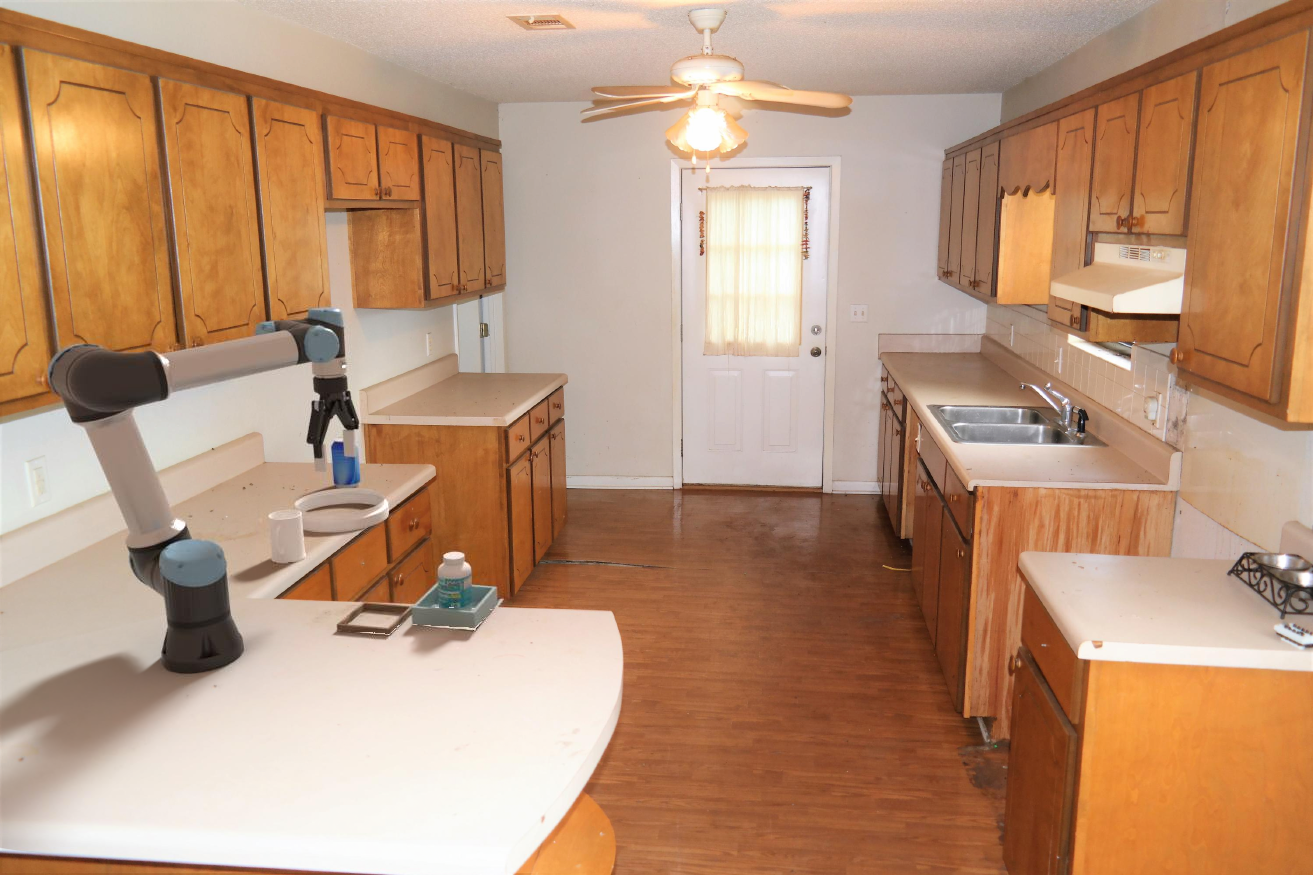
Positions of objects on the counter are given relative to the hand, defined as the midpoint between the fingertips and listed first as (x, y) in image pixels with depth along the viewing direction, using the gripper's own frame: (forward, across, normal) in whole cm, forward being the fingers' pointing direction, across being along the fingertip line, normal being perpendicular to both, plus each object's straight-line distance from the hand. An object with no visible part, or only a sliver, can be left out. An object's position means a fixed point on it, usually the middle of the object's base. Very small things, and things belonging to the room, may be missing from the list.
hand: (336, 463), depth 219 cm
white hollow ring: (+31, +47, +26) cm, 62 cm away
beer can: (+31, +77, +40) cm, 92 cm away
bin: (+31, -11, -33) cm, 46 cm away
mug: (+31, +12, +23) cm, 40 cm away
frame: (+31, -18, -17) cm, 39 cm away
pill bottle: (+30, -11, -33) cm, 46 cm away
